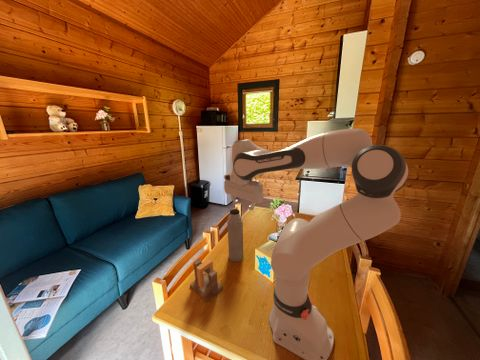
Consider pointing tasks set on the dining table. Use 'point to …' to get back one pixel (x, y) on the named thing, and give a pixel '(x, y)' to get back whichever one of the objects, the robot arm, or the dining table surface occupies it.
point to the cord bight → (202, 267)
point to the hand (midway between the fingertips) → (243, 206)
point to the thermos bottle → (235, 235)
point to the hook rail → (206, 283)
